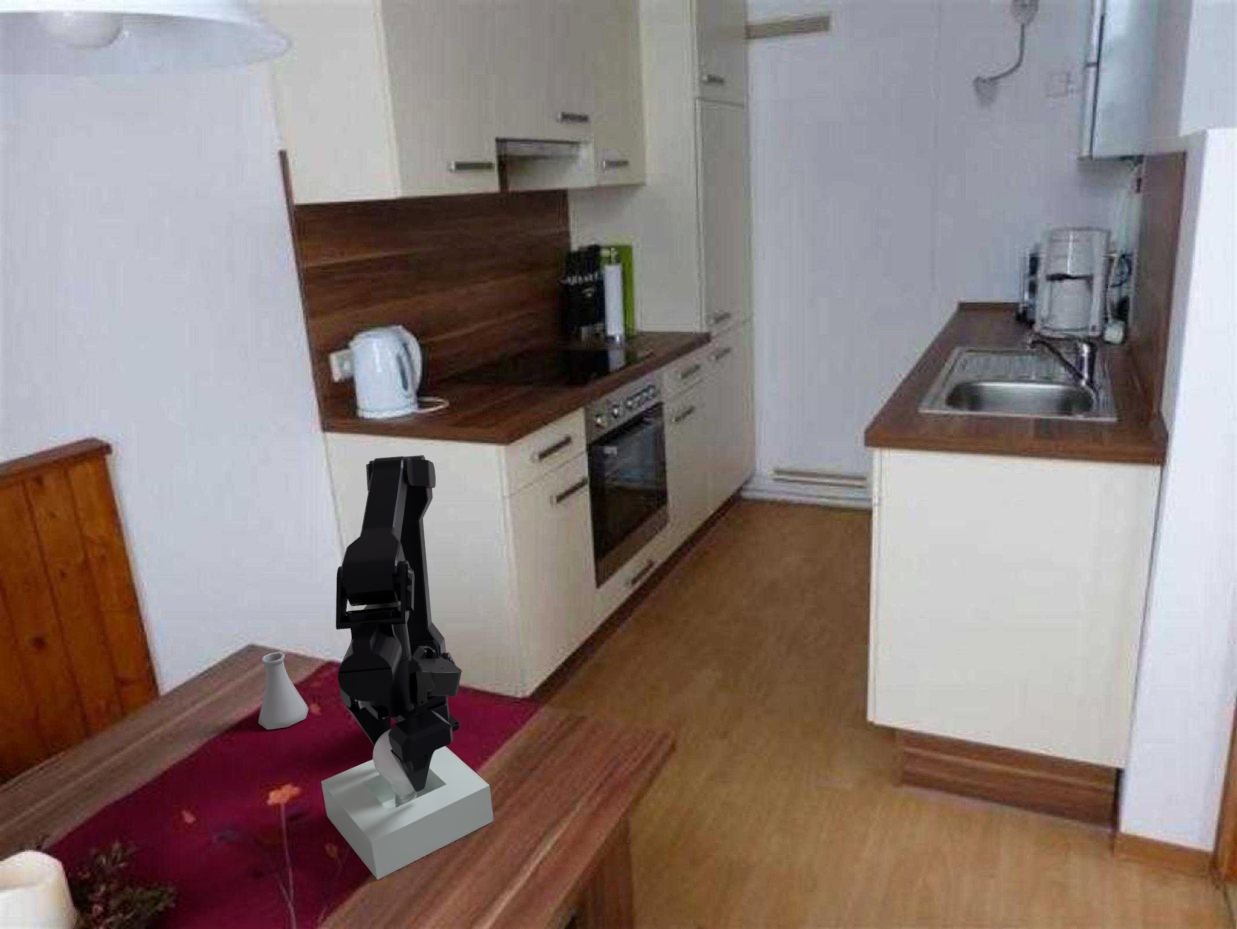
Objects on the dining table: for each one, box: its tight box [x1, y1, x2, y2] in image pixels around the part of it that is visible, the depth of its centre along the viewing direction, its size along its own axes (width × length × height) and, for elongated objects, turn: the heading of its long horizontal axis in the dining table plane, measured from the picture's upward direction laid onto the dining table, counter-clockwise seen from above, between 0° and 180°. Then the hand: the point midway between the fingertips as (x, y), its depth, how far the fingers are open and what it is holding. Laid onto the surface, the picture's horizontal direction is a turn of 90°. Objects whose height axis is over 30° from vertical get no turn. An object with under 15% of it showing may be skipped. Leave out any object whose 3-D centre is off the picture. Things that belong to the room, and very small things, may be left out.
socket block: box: [320, 745, 494, 881], centre depth 114 cm, size 15×15×5 cm
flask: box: [257, 651, 309, 731], centre depth 138 cm, size 7×7×10 cm
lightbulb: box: [372, 728, 417, 808], centre depth 113 cm, size 6×6×11 cm
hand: (402, 772), depth 113 cm, fingers open, 9 cm apart
